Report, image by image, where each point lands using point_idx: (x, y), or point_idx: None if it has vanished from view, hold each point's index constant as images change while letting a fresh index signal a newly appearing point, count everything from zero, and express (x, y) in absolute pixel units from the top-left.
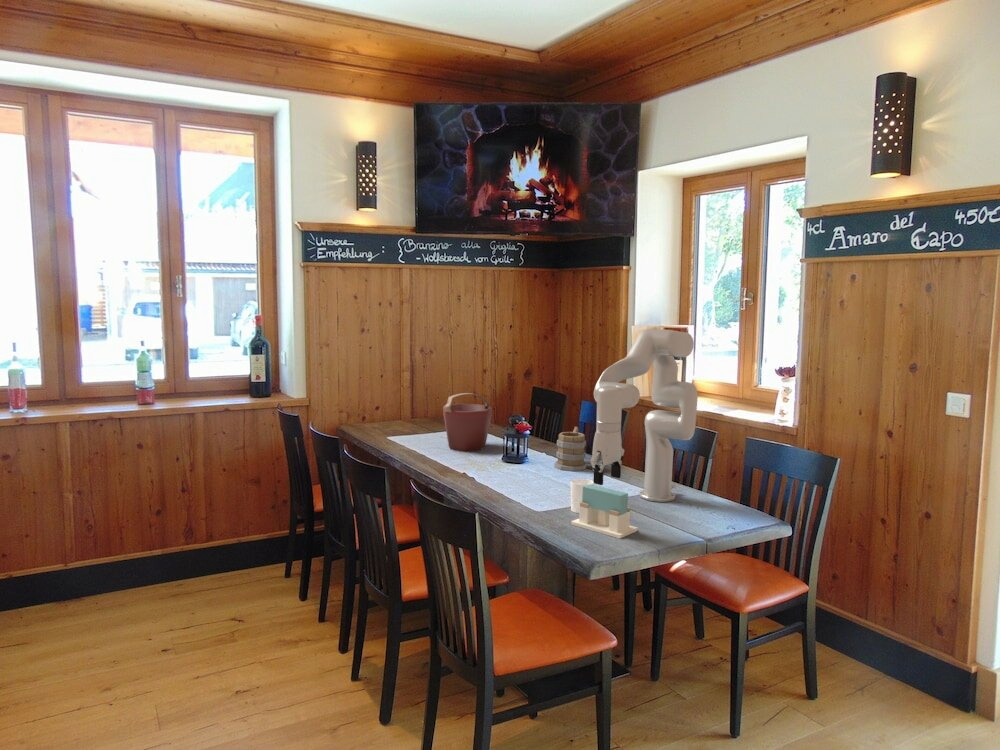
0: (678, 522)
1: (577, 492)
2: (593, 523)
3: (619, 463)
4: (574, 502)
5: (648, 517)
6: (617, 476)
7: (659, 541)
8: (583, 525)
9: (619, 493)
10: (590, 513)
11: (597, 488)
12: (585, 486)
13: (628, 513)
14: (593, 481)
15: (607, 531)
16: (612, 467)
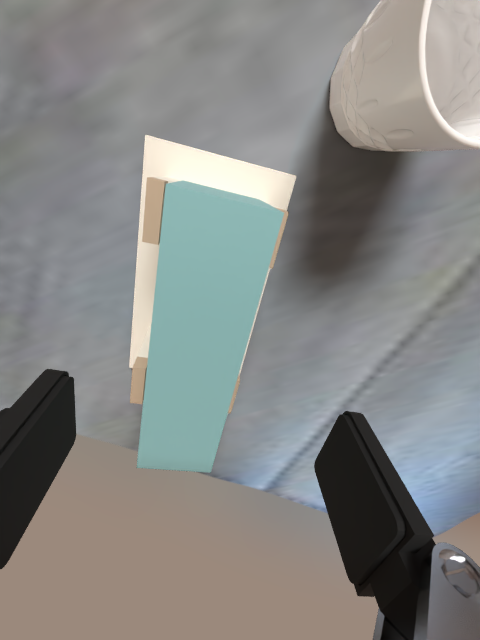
0: None
1: (381, 40)
2: None
3: (378, 634)
4: (358, 41)
5: (382, 358)
6: (321, 466)
7: None
8: (140, 213)
9: (179, 447)
10: None
11: (197, 314)
12: (189, 205)
13: None
14: (38, 377)
15: (134, 323)
16: (377, 507)
